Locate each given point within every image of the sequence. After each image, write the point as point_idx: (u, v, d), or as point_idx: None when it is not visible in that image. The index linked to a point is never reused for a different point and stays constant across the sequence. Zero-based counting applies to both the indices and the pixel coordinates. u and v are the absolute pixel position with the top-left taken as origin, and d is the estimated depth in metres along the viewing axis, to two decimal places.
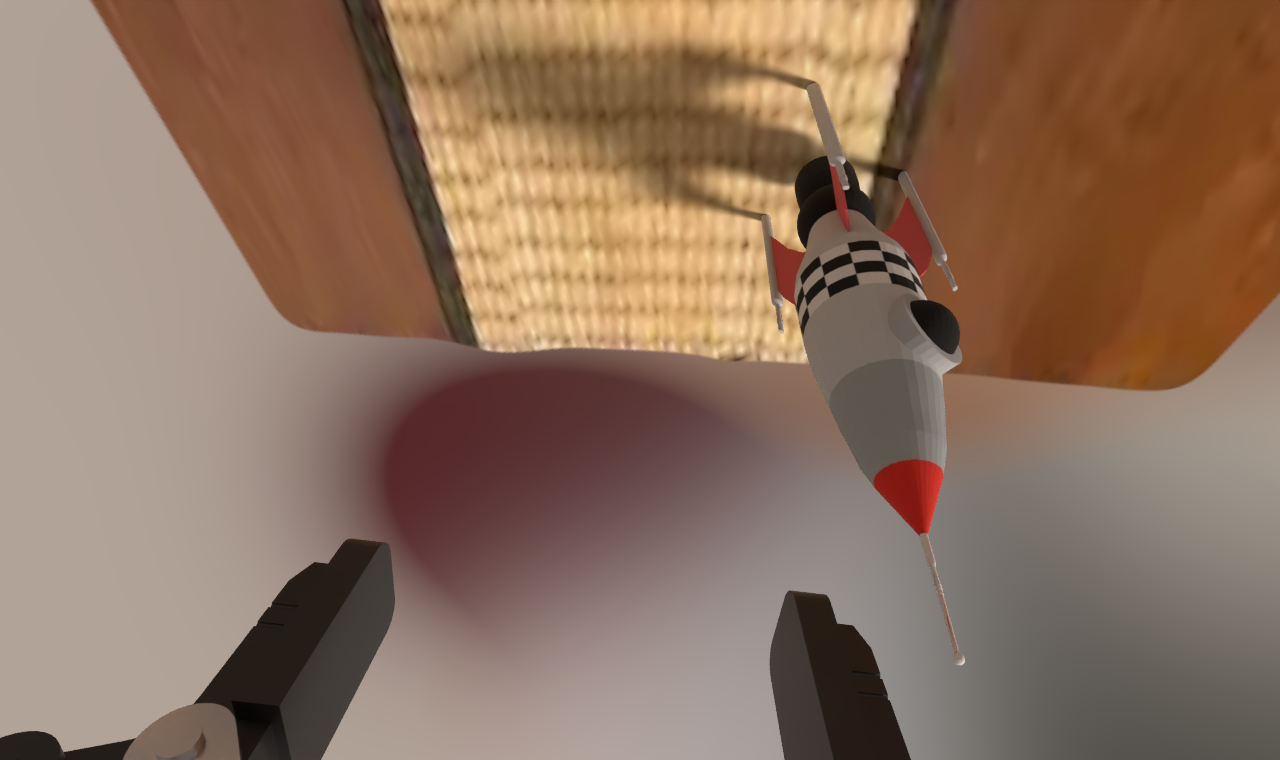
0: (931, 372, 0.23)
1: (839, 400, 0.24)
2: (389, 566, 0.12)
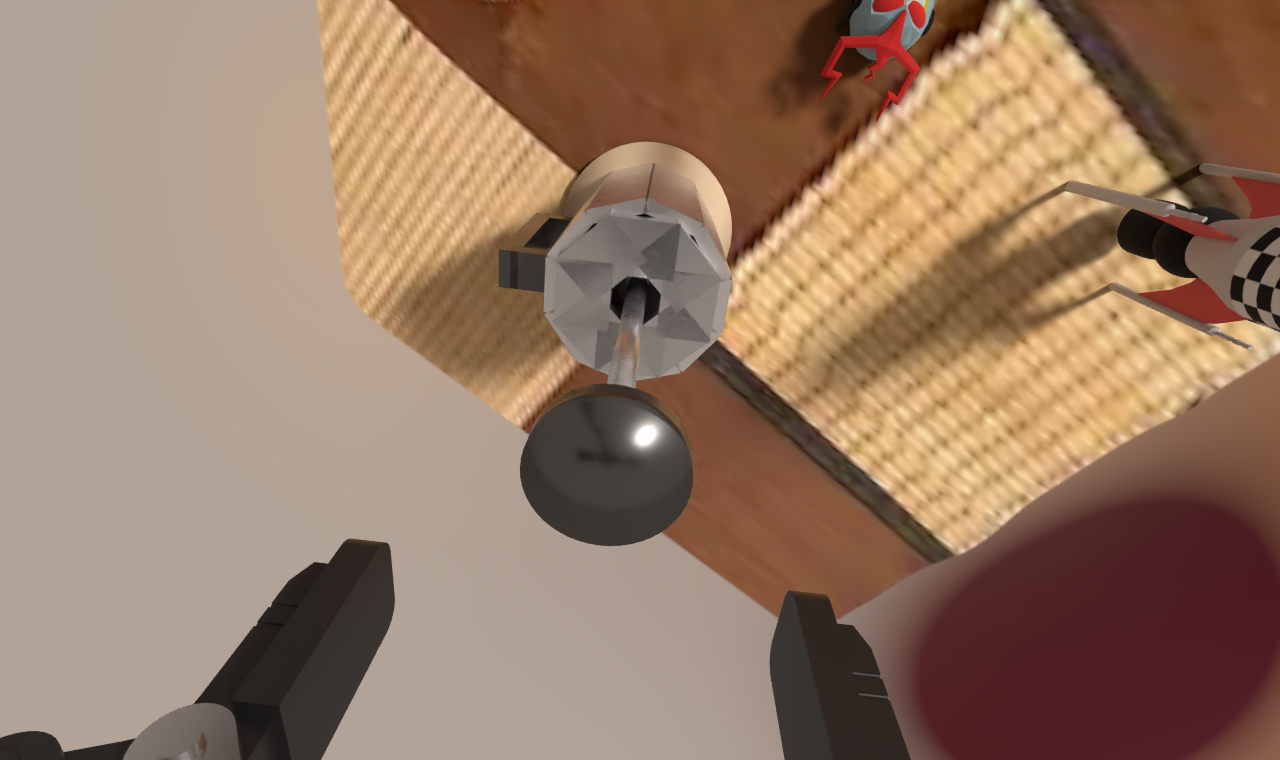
0: None
1: None
2: (389, 566, 0.12)
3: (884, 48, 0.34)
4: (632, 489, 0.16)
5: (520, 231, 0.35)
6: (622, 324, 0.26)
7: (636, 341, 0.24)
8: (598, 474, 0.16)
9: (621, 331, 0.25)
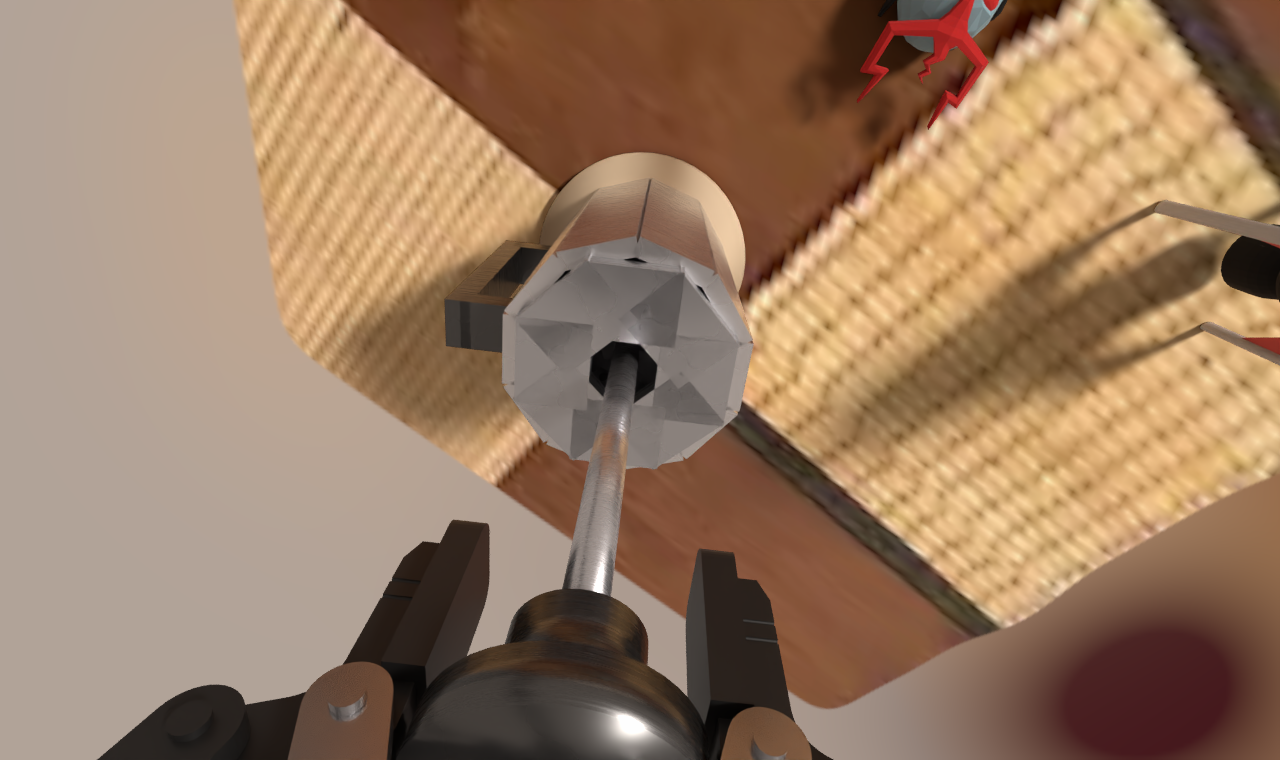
0: None
1: None
2: (488, 546, 0.13)
3: (946, 36, 0.27)
4: None
5: (479, 269, 0.28)
6: (602, 421, 0.18)
7: (620, 455, 0.16)
8: None
9: (600, 436, 0.17)
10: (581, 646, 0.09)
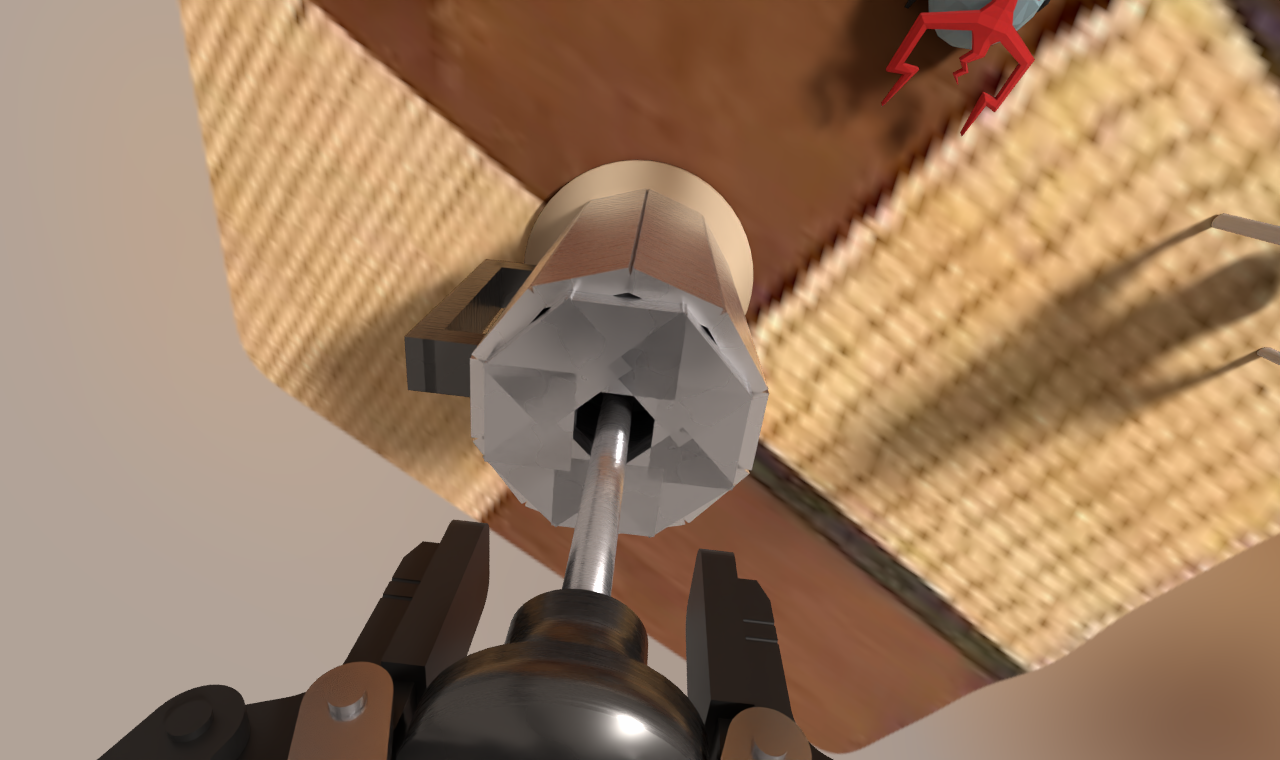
0: None
1: None
2: (488, 546, 0.13)
3: (987, 29, 0.23)
4: None
5: (451, 296, 0.24)
6: (602, 421, 0.18)
7: (620, 455, 0.16)
8: None
9: (599, 436, 0.17)
10: (581, 646, 0.09)
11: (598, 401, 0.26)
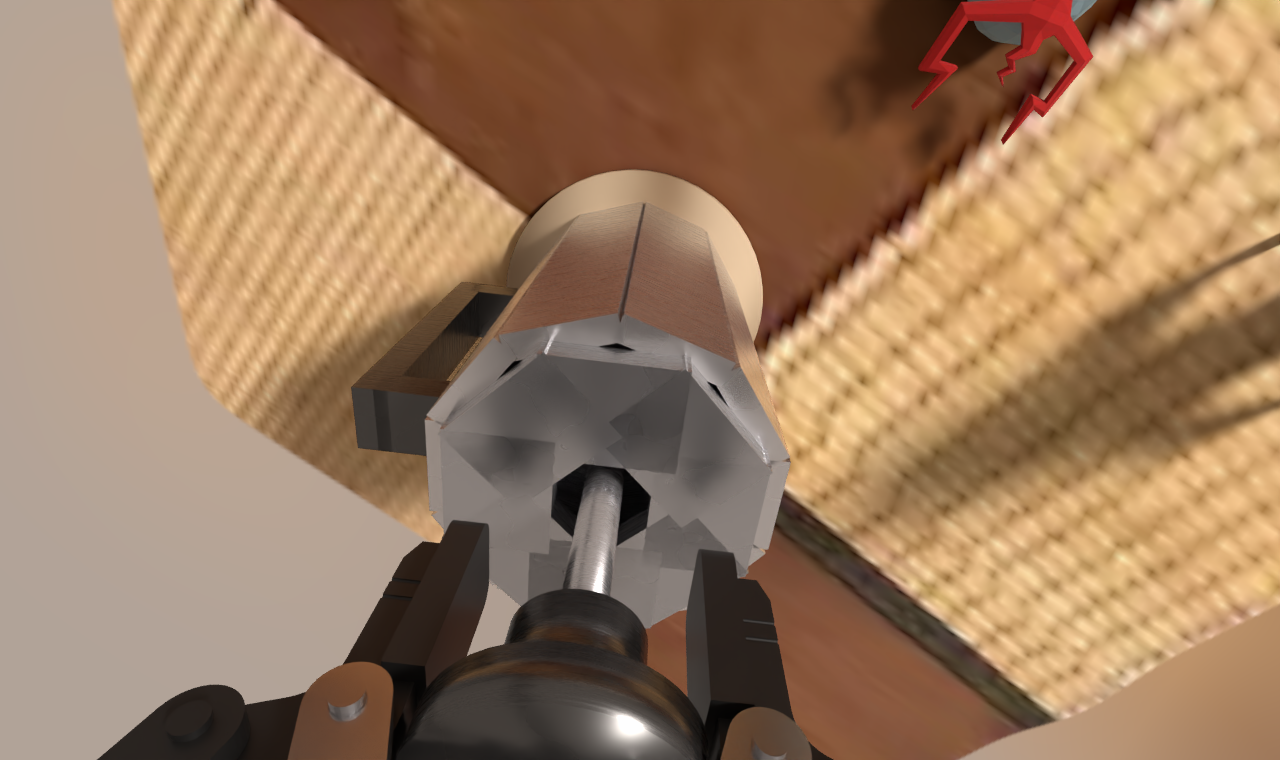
0: None
1: None
2: (488, 546, 0.13)
3: (1040, 21, 0.20)
4: None
5: (415, 330, 0.21)
6: None
7: None
8: None
9: None
10: (580, 646, 0.09)
11: None
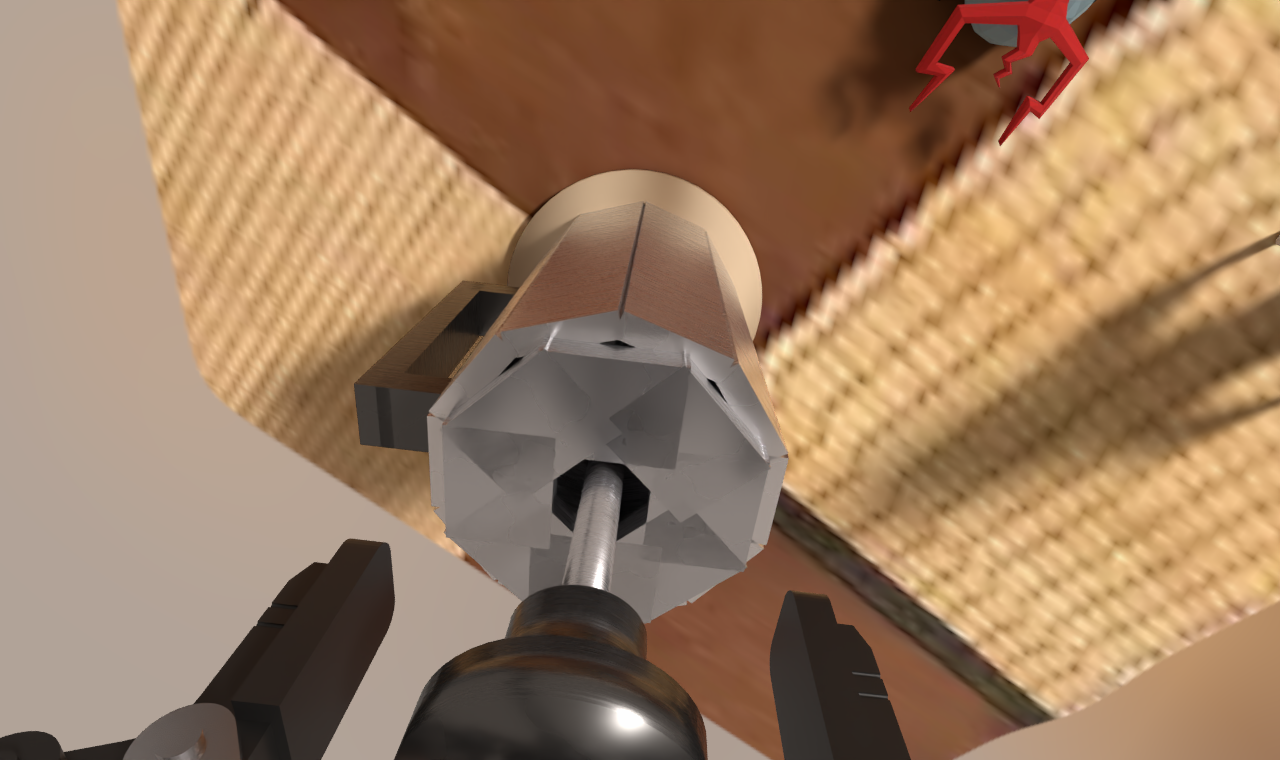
0: None
1: None
2: (389, 566, 0.12)
3: (1036, 24, 0.20)
4: None
5: (417, 328, 0.21)
6: None
7: None
8: None
9: None
10: (580, 640, 0.09)
11: None
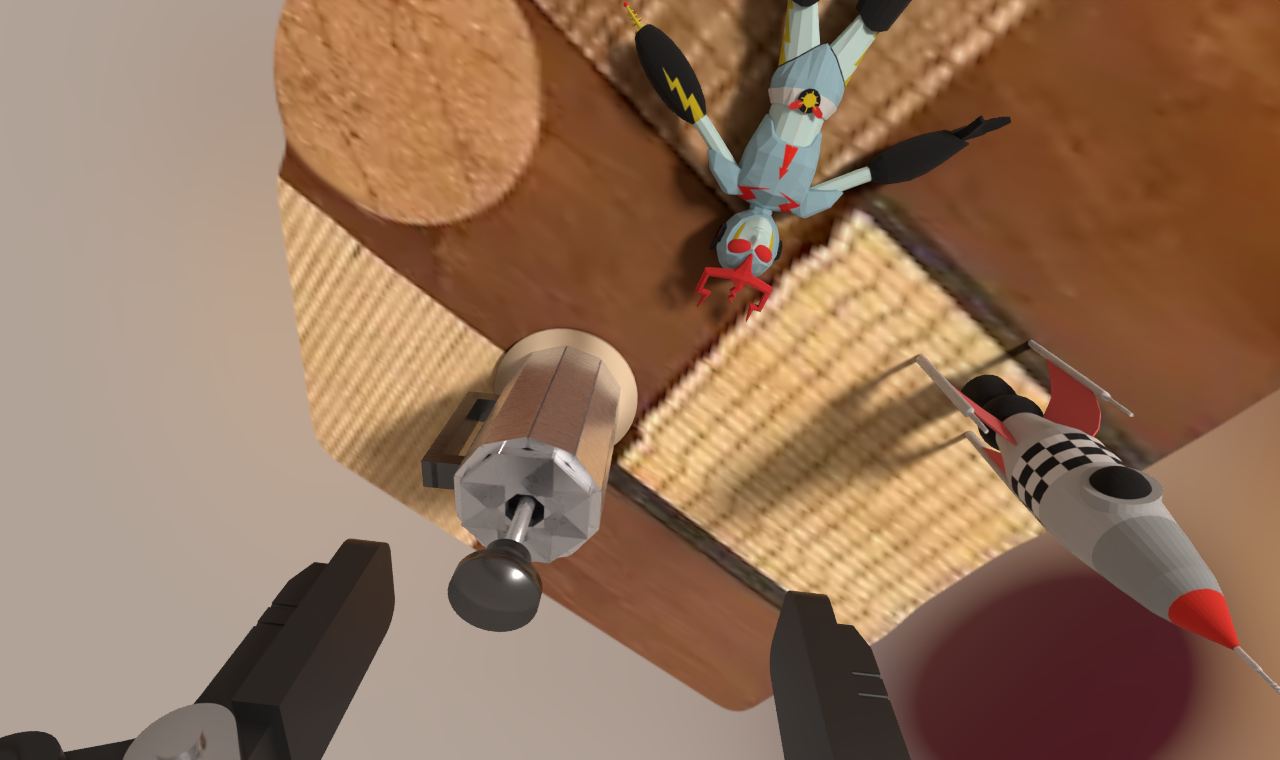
0: (1144, 519, 0.30)
1: (1104, 575, 0.31)
2: (389, 566, 0.12)
3: (739, 279, 0.42)
4: (507, 603, 0.31)
5: (446, 427, 0.43)
6: None
7: None
8: (488, 596, 0.31)
9: None
10: (500, 550, 0.31)
11: None
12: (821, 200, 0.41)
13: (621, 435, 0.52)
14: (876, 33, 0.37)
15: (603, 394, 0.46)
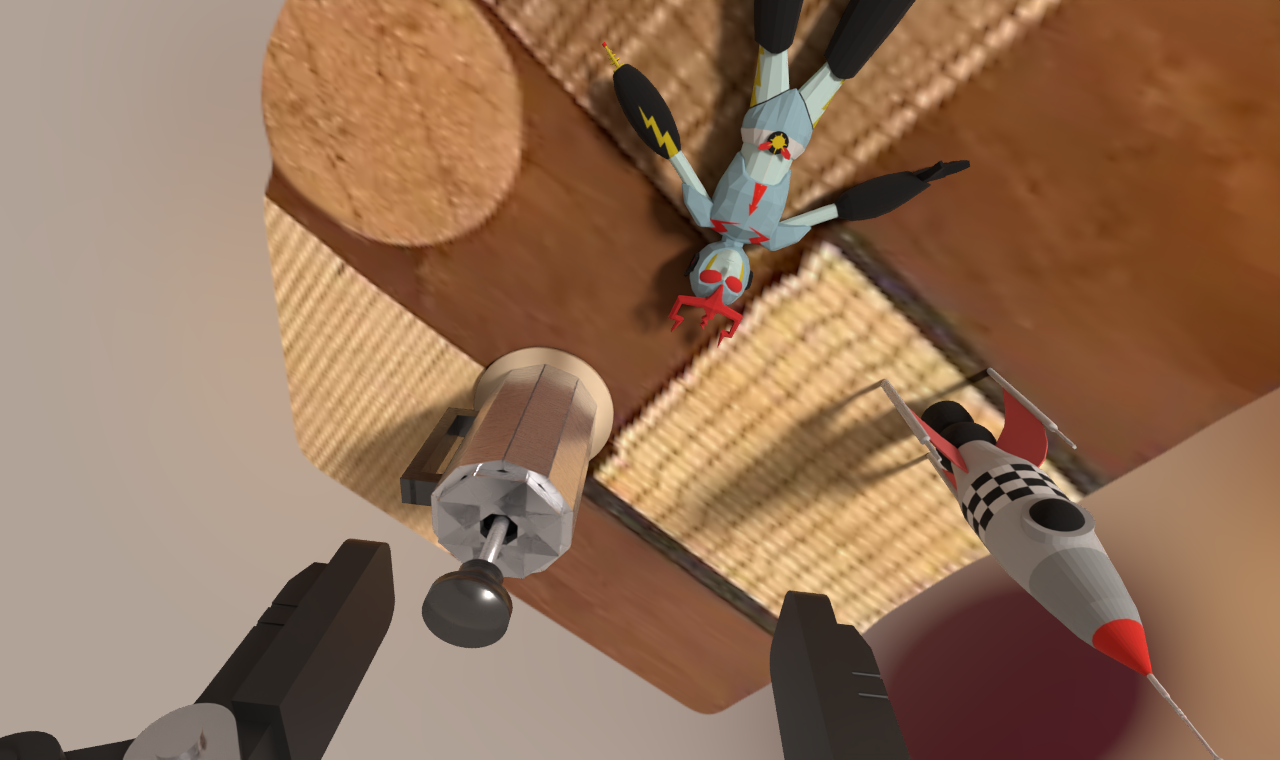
0: (1076, 550, 0.33)
1: (1039, 601, 0.34)
2: (389, 566, 0.12)
3: (710, 308, 0.44)
4: (479, 622, 0.33)
5: (425, 444, 0.45)
6: None
7: None
8: (461, 615, 0.32)
9: None
10: (473, 572, 0.32)
11: None
12: (790, 235, 0.43)
13: (597, 450, 0.54)
14: (843, 80, 0.39)
15: (579, 413, 0.47)
